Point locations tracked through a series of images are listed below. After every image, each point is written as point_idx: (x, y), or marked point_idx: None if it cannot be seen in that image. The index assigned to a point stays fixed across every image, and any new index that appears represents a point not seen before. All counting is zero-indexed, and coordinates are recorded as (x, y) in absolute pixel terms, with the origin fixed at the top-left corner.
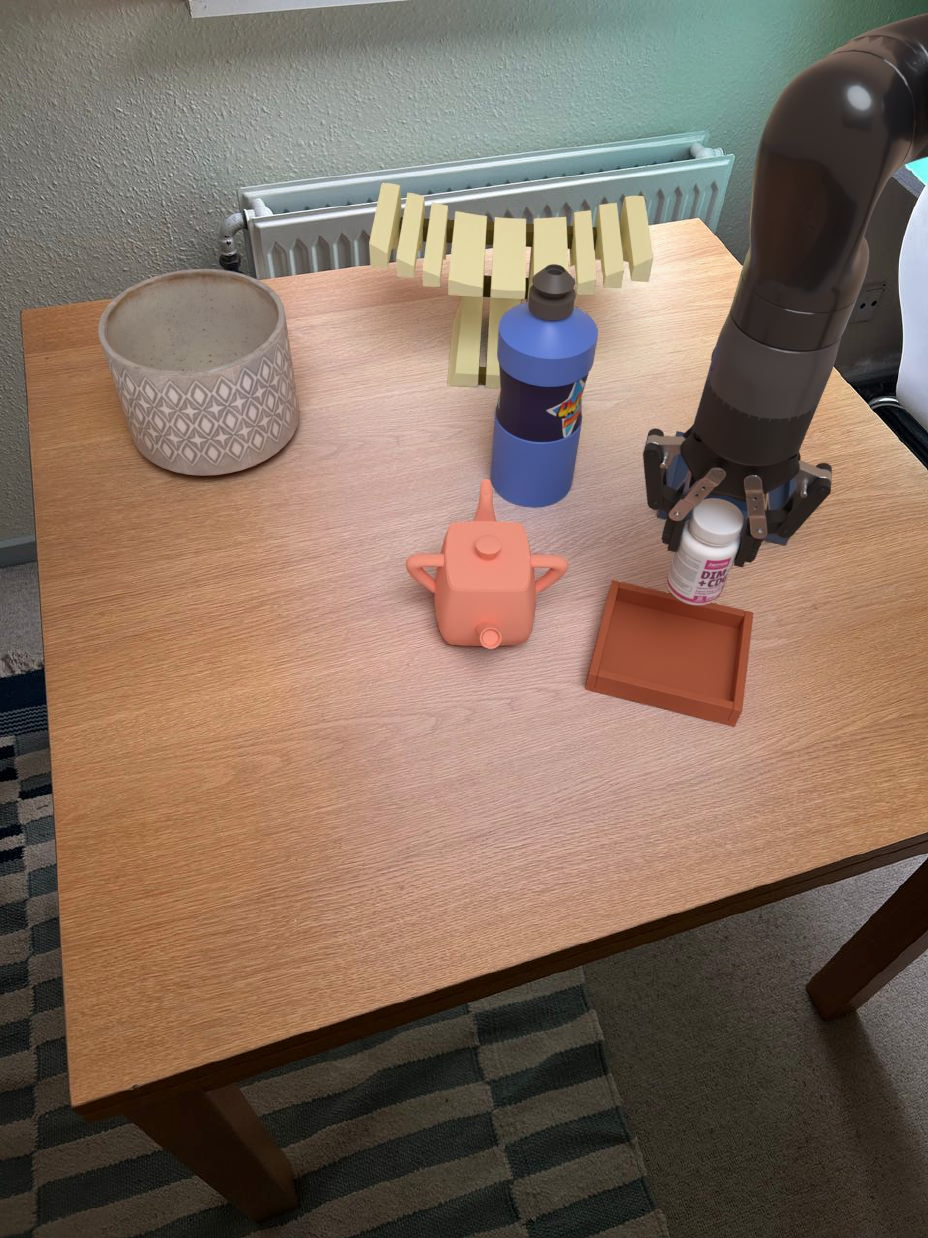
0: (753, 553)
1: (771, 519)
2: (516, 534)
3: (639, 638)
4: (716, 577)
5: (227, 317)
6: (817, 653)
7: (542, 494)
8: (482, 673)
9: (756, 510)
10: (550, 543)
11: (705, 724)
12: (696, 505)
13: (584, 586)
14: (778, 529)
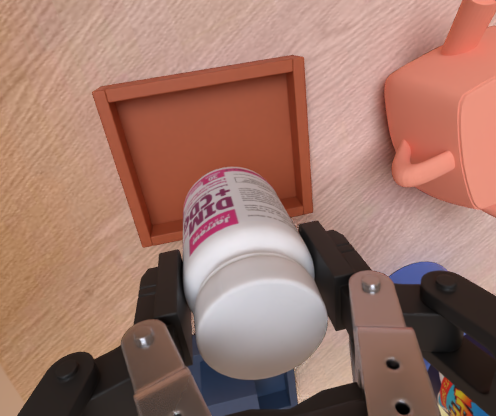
0: (147, 287)
1: (124, 391)
2: (484, 188)
3: (254, 158)
4: (201, 212)
5: None
6: (57, 238)
7: (407, 282)
8: (417, 19)
9: (170, 409)
10: (377, 234)
11: (135, 73)
12: (360, 329)
13: (330, 200)
14: (89, 372)
